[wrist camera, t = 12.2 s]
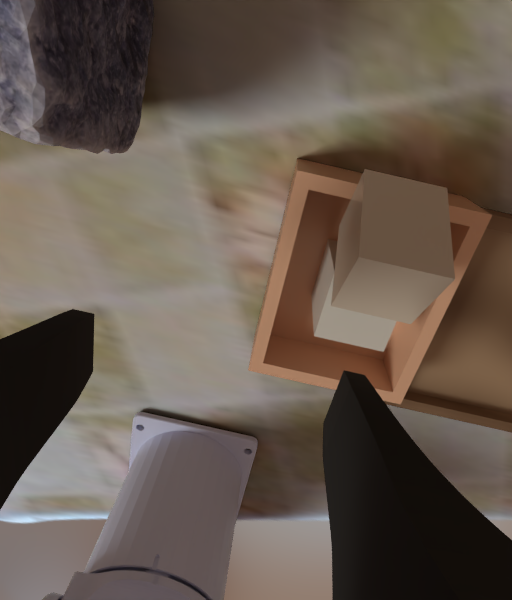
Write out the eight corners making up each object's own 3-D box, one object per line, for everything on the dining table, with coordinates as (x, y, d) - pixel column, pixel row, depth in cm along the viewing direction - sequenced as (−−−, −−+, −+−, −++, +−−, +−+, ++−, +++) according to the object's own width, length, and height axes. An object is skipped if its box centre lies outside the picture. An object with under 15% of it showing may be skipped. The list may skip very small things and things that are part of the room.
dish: (387, 365, 23) (400, 404, 20) (254, 335, 23) (248, 370, 20) (462, 196, 18) (492, 215, 16) (297, 158, 18) (297, 170, 15)
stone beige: (410, 324, 15) (455, 279, 12) (330, 306, 15) (358, 256, 12) (409, 241, 17) (446, 187, 14) (339, 224, 17) (364, 168, 14)
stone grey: (383, 351, 17) (410, 289, 16) (314, 336, 17) (334, 272, 16) (369, 307, 21) (389, 253, 19) (311, 294, 21) (328, 238, 19)
